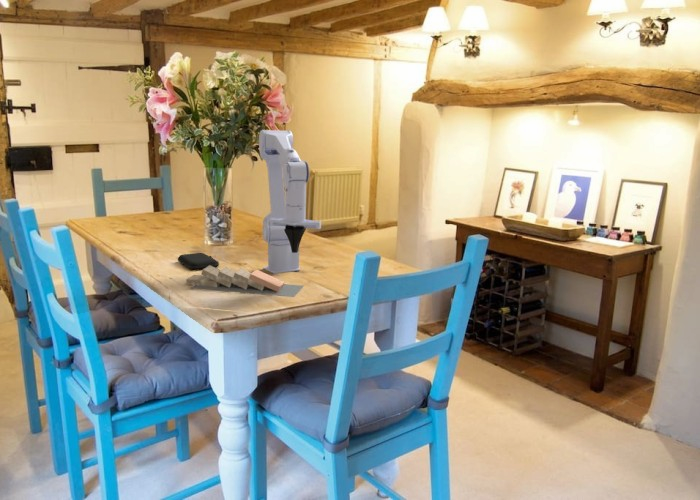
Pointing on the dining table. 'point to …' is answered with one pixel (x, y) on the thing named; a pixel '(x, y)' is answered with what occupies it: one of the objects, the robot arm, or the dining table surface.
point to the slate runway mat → (284, 291)
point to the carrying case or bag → (197, 261)
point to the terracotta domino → (266, 280)
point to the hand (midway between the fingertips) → (295, 251)
